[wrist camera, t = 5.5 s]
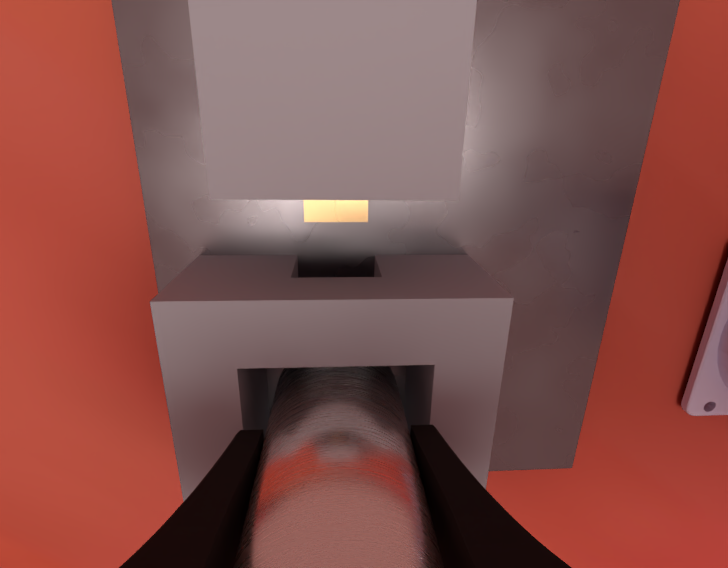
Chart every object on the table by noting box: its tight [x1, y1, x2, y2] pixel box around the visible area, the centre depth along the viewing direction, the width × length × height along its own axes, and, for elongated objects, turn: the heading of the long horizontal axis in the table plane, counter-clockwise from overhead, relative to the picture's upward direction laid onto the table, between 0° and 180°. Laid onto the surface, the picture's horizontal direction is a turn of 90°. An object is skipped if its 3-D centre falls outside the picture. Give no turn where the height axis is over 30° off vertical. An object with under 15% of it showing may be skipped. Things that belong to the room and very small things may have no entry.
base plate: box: [112, 0, 680, 471], centre depth 14 cm, size 16×26×1 cm, turn 179°
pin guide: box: [188, 0, 477, 201], centre depth 11 cm, size 6×4×4 cm
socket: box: [150, 255, 514, 501], centre depth 14 cm, size 9×9×4 cm
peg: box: [234, 366, 444, 568], centre depth 10 cm, size 4×4×8 cm
